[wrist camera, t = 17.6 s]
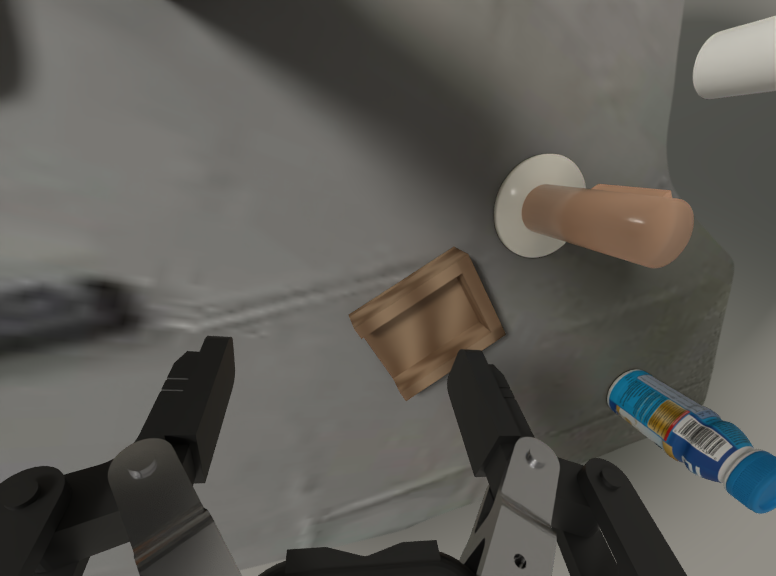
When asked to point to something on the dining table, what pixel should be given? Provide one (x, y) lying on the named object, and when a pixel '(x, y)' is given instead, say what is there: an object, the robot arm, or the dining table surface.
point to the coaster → (516, 191)
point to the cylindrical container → (737, 61)
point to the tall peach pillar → (613, 220)
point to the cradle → (429, 321)
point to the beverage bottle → (696, 438)
